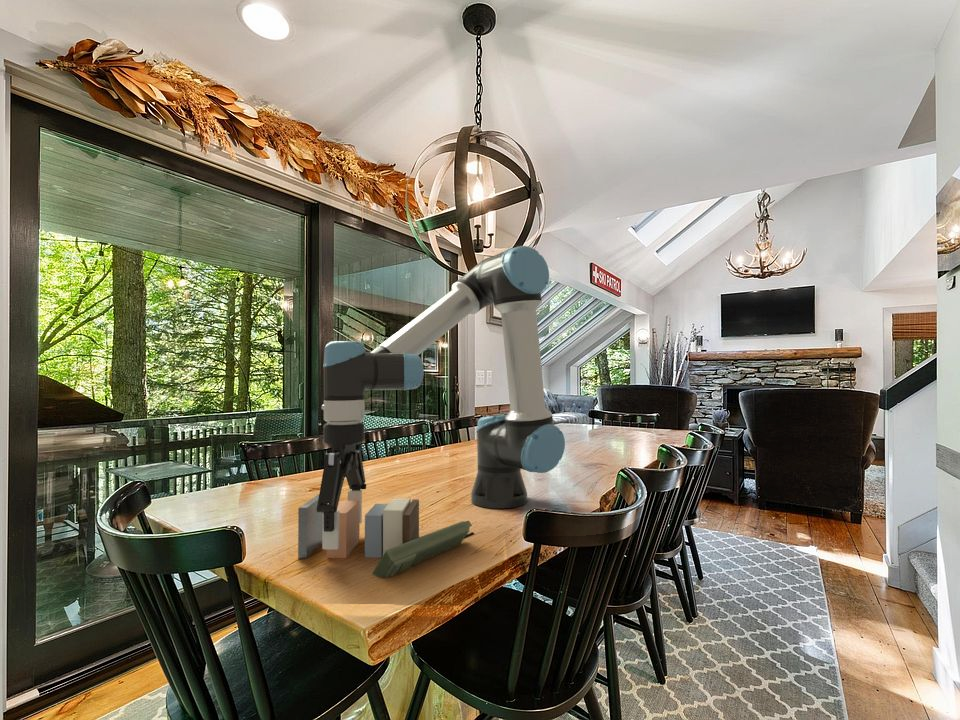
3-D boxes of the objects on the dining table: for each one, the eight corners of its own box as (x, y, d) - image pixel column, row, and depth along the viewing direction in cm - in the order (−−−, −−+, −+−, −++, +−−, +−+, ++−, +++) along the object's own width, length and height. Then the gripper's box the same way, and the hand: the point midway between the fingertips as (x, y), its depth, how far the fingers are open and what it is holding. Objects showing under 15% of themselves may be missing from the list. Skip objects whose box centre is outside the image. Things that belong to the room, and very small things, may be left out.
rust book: (359, 541, 88) (359, 500, 89) (346, 558, 80) (346, 513, 81) (342, 541, 89) (342, 500, 89) (326, 557, 81) (327, 513, 81)
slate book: (390, 542, 88) (390, 503, 88) (381, 557, 81) (381, 515, 81) (375, 542, 88) (375, 503, 88) (364, 557, 81) (364, 515, 81)
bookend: (325, 539, 89) (325, 494, 89) (306, 558, 80) (306, 507, 80) (317, 539, 89) (317, 494, 90) (298, 558, 80) (298, 507, 81)
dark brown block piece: (419, 545, 89) (418, 499, 89) (409, 567, 79) (409, 515, 79) (314, 545, 90) (315, 499, 90) (292, 566, 80) (293, 514, 80)
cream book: (410, 541, 88) (410, 498, 88) (402, 558, 80) (402, 510, 80) (393, 541, 88) (393, 498, 89) (383, 558, 80) (383, 510, 81)
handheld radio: (367, 573, 75) (465, 532, 94) (377, 590, 73) (475, 545, 92) (383, 547, 72) (480, 510, 92) (394, 563, 71) (490, 523, 90)
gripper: (346, 416, 98) (345, 514, 97) (296, 430, 73) (295, 562, 72) (380, 416, 98) (379, 514, 97) (341, 430, 73) (341, 562, 72)
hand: (343, 534), depth 85 cm, fingers open, 13 cm apart
